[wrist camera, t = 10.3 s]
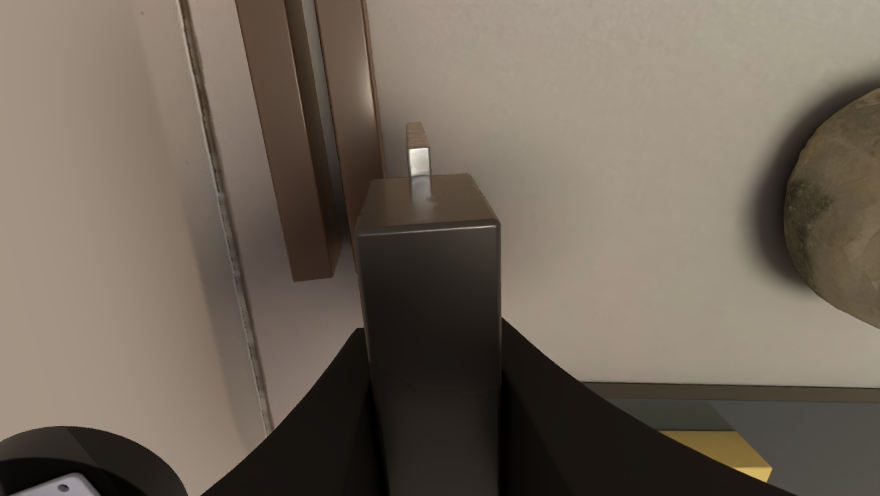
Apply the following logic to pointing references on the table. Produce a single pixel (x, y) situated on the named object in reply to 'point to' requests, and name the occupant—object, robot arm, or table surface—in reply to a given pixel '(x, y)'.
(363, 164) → the knife rack
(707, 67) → the table surface
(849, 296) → the stone
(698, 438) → the butter stick
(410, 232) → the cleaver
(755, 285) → the table surface
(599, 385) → the butter board
